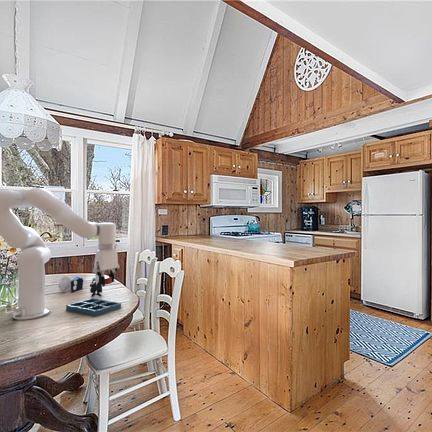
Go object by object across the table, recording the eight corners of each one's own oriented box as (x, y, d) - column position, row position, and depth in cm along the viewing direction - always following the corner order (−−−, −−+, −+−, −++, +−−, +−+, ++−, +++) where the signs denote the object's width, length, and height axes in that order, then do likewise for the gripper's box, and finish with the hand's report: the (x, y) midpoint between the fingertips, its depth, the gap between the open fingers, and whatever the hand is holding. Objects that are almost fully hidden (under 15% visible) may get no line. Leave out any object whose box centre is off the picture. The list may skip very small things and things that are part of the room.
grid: (95, 316, 142) (95, 310, 142) (66, 310, 149) (66, 305, 149) (121, 308, 155) (121, 303, 155) (92, 303, 162) (93, 298, 162)
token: (105, 284, 150) (105, 278, 150) (99, 283, 152) (99, 277, 152) (113, 282, 155) (113, 277, 155) (107, 281, 156) (107, 276, 156)
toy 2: (106, 308, 184) (110, 286, 194) (102, 291, 171) (107, 268, 180) (92, 308, 181) (97, 287, 191) (86, 292, 168) (92, 269, 178)
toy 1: (87, 291, 191) (67, 294, 177) (73, 288, 193) (51, 291, 178) (90, 277, 192) (70, 278, 178) (76, 274, 194) (55, 276, 179)
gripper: (116, 245, 162) (115, 279, 163) (85, 248, 146) (85, 285, 147) (126, 245, 160) (126, 280, 160) (96, 249, 144) (96, 287, 144)
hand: (106, 282), depth 153 cm, fingers closed on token, 4 cm apart
